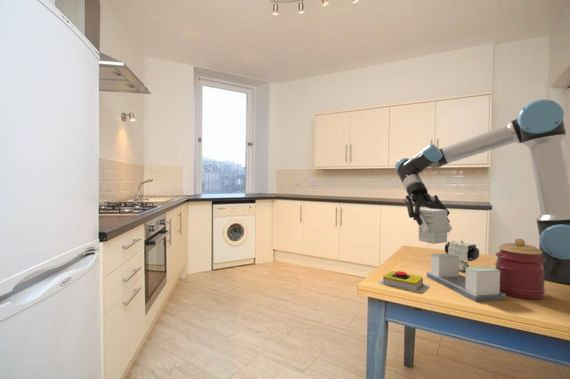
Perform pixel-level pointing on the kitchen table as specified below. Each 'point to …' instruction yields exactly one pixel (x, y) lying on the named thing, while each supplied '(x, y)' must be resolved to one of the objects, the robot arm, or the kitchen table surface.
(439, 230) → the grey ridged module
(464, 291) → the mounting rail
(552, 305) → the kitchen table surface
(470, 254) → the pneumatic valve
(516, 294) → the canister
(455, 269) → the grey module pair
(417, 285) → the emergency button
